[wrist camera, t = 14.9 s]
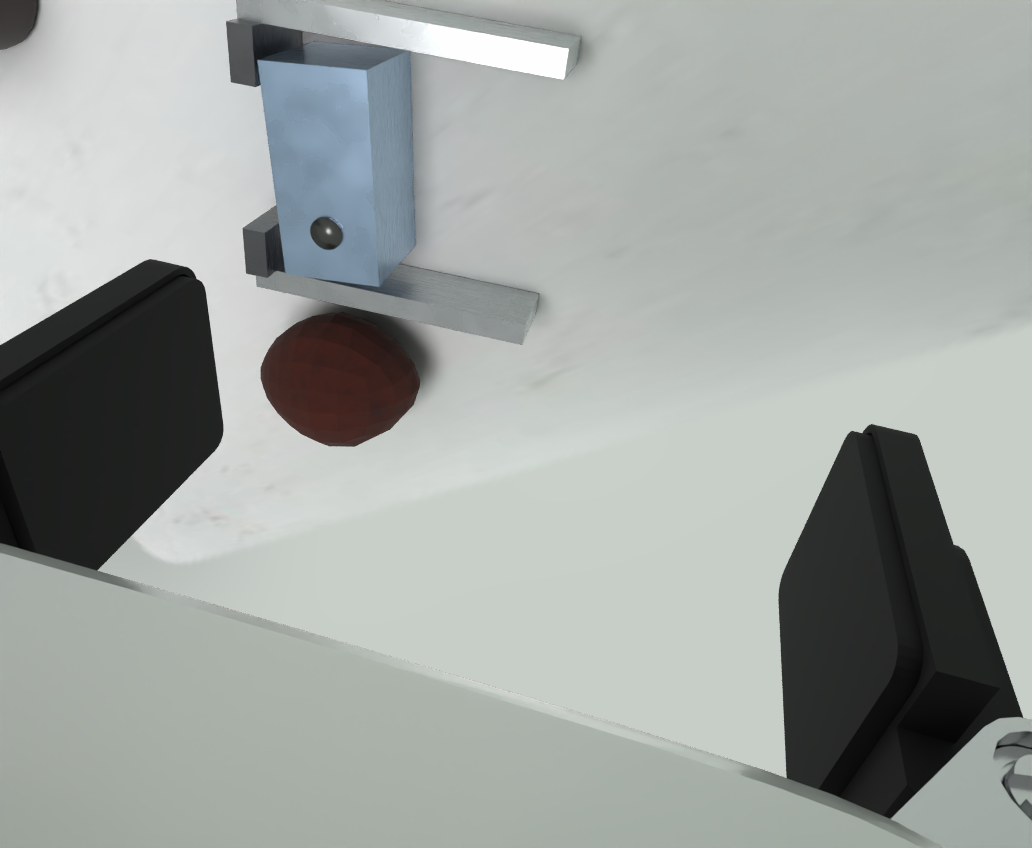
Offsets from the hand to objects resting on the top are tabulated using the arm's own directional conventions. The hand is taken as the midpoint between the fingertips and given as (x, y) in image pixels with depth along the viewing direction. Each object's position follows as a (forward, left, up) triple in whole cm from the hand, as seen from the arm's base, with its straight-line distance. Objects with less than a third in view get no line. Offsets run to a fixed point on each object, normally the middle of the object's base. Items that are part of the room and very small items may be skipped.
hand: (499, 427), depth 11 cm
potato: (+13, +19, -31) cm, 38 cm away
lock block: (+13, +6, -31) cm, 34 cm away
